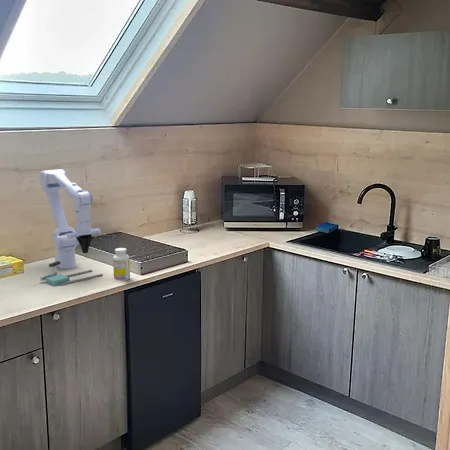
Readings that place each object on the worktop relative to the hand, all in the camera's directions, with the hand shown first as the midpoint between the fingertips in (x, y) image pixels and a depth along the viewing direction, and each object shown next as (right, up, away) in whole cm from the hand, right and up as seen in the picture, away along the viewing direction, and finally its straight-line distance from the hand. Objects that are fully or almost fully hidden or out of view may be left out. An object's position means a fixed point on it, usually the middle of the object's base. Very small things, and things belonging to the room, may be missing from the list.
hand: (85, 252), depth 239 cm
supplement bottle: (+16, -11, -1) cm, 19 cm away
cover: (-9, -13, -8) cm, 17 cm away
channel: (-3, -11, -3) cm, 12 cm away
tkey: (-13, -11, -5) cm, 17 cm away
